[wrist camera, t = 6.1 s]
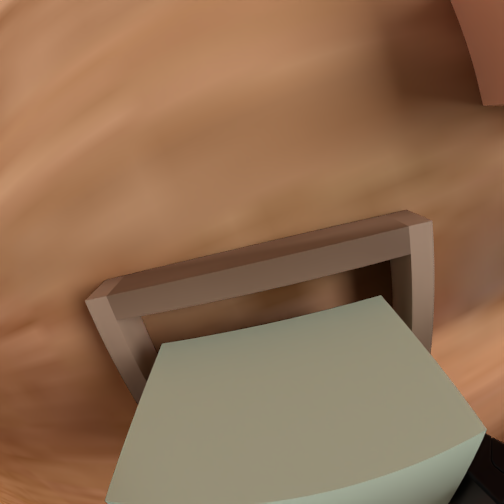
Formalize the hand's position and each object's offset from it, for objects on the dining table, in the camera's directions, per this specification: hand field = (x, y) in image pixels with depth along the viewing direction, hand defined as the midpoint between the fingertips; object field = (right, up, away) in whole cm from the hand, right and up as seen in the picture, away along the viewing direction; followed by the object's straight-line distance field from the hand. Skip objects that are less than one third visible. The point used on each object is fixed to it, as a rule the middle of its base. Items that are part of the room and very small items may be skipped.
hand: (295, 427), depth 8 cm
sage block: (0, 0, +1) cm, 1 cm away
